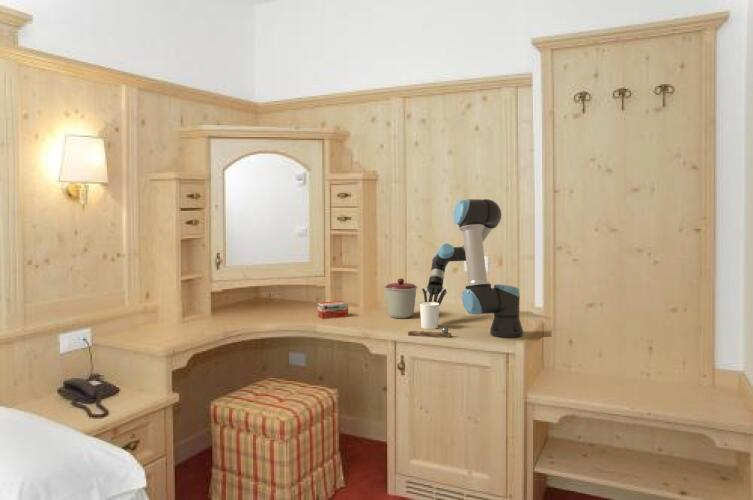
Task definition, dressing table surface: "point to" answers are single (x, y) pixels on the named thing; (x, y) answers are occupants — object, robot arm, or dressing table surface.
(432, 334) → the hole rail
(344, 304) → the medicine box
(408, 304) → the canister
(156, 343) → the dressing table surface
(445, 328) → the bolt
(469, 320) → the dressing table surface
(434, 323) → the white cup
